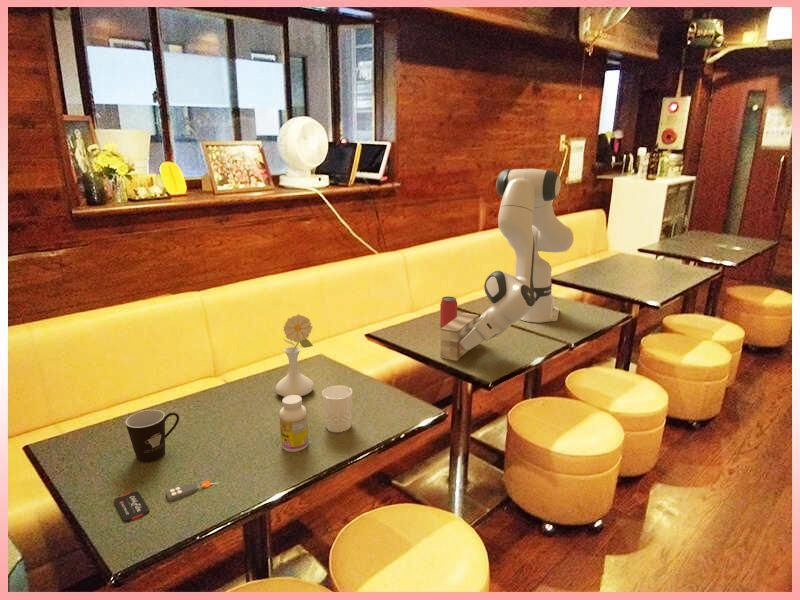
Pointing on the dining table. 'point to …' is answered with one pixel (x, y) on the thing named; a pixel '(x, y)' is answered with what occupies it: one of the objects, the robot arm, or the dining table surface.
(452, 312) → the beer can
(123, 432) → the dining table surface
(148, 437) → the coffee mug
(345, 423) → the white cup
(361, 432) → the dining table surface
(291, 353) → the flower in vase
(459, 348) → the terracotta button
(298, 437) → the supplement bottle
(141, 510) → the black flat block
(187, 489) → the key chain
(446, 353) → the block
